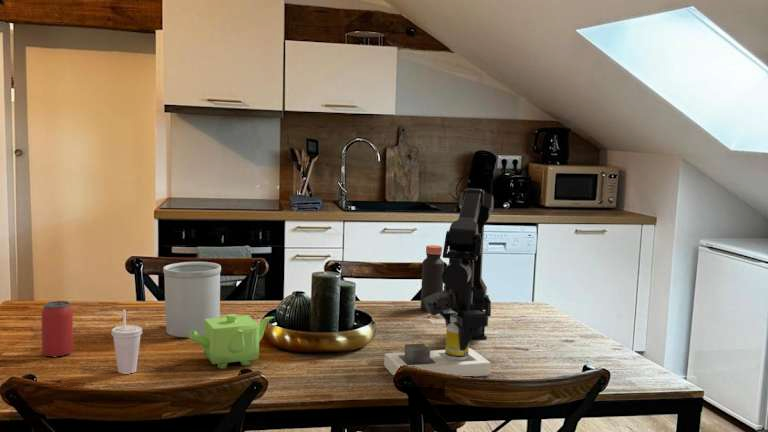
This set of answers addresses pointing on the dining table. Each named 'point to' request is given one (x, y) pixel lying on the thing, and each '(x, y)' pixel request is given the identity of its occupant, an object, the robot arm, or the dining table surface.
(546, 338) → the dining table surface
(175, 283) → the utensil holder
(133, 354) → the smoothie
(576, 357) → the dining table surface
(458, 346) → the supplement bottle
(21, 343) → the dining table surface
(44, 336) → the beer can
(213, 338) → the kettle
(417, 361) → the seated peg
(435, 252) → the vinegar
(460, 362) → the white flat block
